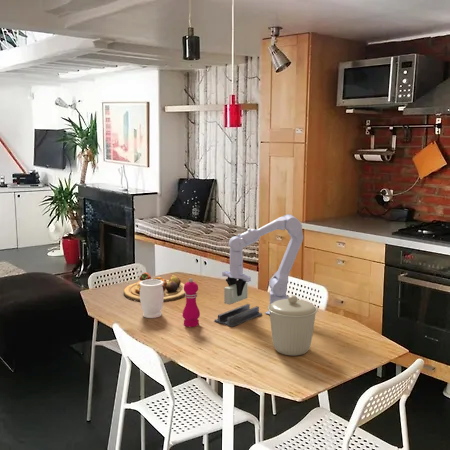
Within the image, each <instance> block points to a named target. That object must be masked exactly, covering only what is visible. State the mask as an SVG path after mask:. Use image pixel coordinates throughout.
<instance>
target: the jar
mask: <svg viewBox="0 0 450 450" xmlns="http://www.w3.org/2000/svg"><path fill="white" fill-rule="evenodd" d="M162 285H163V281H162V280H157V279H154V278H151V279H149V280H143V281H141V282H140V286H141V288H140V306H141V309H142V311H143V313H142V317H144V318H147V319H155V318H159V317H161V316H162V313H163V312H162V309H163V305H164V302H163V299H164V292H163V287H162Z"/></svg>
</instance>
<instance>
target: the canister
mask: <svg viewBox="0 0 450 450" xmlns="http://www.w3.org/2000/svg"><path fill="white" fill-rule="evenodd" d="M269 304H270V303H269ZM269 304H268V306H267V310H268V311H270V315H269V319H270V320H269V321H270V329H271V339H272V344H273V347H274V350H276V351H277V352H278V353H279V354H282V355H285V356H291V357H292V356H302V355H304V354H306V353H307V352H308V351H309V350H310V348H311V344H312V339H313V334H314V327H315V319H316V314H317V313H318V311H319V310H318V309H319V308H318V307H317V306H316V305H315V304H313V303H312V302H309V301H308V300H304V299H298V296H296V295H294V294H292V295H291V294H290V295H289V297H288V299H282V300H278V301H275V302H273V303H271V304H270V305H269Z"/></svg>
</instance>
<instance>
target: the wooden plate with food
mask: <svg viewBox="0 0 450 450" xmlns="http://www.w3.org/2000/svg"><path fill="white" fill-rule="evenodd" d="M149 279H152V277H151V275H150V273H148V272H147V271H146V272H143V273H142V274H141V275H139V279H138V281H137V282H134V283H131V284H129V285H127V286H126V287H125V288H124V289H123V295H124V296H125V298H127V299H128V298H129V299H128V300H131V299H132V300H131V301H134V300H136V301H135V302H139V301H140V288H141V286H140V282H141V281H143V280H149ZM153 279H157V280H162V281H163V285H162V287H163V292H164V299H163V303H165V302H171V301H176V300H180V299H182V298H184V297H185V293H186V292H185V291H184V285H185V284H186V283H185V284H184V282H182V281H181V279H180V278H179V277H178V276H177V275H174V274H172V275H171V276H170V278H169V279H165V278H163V277H161V276H156V277H155V278H153Z"/></svg>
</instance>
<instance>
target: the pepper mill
mask: <svg viewBox="0 0 450 450" xmlns="http://www.w3.org/2000/svg"><path fill="white" fill-rule="evenodd" d="M198 285H199V284H197V282H195V281H194V279H193V278H192V277H189V278H188V281H187V282H185V285H184V291H185V292H186V293H185V296H184V297H185V300H186V301H185V306H184V308H183V311H182V317H183V319H184V320H183V326H185V327H187V328H195V327H197V326H199V325H200V323H199V322H200V321H199V318H200V316H201V313H200V309H199V307H198V304H197V297H198V293H197V292H198V291H199V286H198Z"/></svg>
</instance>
